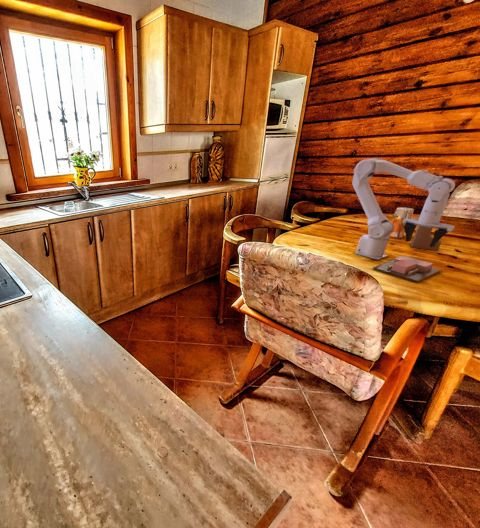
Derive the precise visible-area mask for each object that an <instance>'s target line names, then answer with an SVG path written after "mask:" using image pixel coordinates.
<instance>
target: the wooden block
mask: <svg viewBox="0 0 480 528" xmlns="http://www.w3.org/2000/svg"><path fill="white" fill-rule="evenodd" d="M432 230H433V228H430V227H424V226H419V225H417V226H416V229H415V232H414V235H413V238H412V239H411V244H410V246H411V248H414V249H421V250H428V251H435V252H436V251H439V249H440V247H441V244H442V240H441V239H440V240H439V241H438V242H437V243H436V245H435V246H434V247H430V244H431V242H432V240H433V237H434V236H432V234H431V233H432Z"/></svg>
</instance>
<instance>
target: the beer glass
mask: <svg viewBox="0 0 480 528" xmlns="http://www.w3.org/2000/svg"><path fill="white" fill-rule="evenodd" d="M414 211H415V209H414V208H411V207H404V206H403V207H402V206H401V207H396V208H395V211H394V213H393V216H392V221H391V223H392V224H393V225H394V230H393V231H392V232H391V233H390V234H389V237H390V238H394V239H403V238H404V234H405V229H404V225H405V223H403V220H404V219H405V218H410V219H413V215H414Z"/></svg>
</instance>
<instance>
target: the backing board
mask: <svg viewBox="0 0 480 528" xmlns="http://www.w3.org/2000/svg"><path fill="white" fill-rule="evenodd" d="M402 260H406V261H410V262H414V263H417V266H416V268H415V269H414V270H412V271H409V272H408V273H406V274H403V273H400V272H396V271H393V270H391V268H392V266H393V263H395V262H399V261H402ZM433 266H434V263H433V262H429V261H425V260H421V259H417V258H414V257H410V256H407V255H400V256H397V257H395V258H394V259H392V260H389V261H387V262H384V263H381V264H379V265H377V266H374V267H373V271H377V272H379V273H383V274H386V275H390V276H393V277H396V278H399V279H403V280H406V281H409V282H413V283H415V284H417V283H420V282H422V281H424V280H427V279H428V278H430V277H432V276H434V275H437V274H439V273H440V272H441V269H439V268H435V267H433Z"/></svg>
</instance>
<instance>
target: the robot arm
mask: <svg viewBox="0 0 480 528" xmlns="http://www.w3.org/2000/svg"><path fill="white" fill-rule="evenodd" d="M376 173H387V174H390V175H393V176H396V177H398V178H402V179H406V182H407V184H408V185H410V186H414V187H416V188H417V189H421V190H423V191H428V196H427V197H426V199H425V202H424V205H423V208H422V210H421V212H420V215H419V218H418V219H417V218H411V219H410V218H405V219H404V220H403V223H405V225H404V229H405V231H404V234H405V242H407V243H409V242H411V241H412V239H413V238H412V237H413V236H414V235H413V234H414V233H415V231H416V229H417V227H418V225H419V226H424V227H430V228H432V229H435V230H434V232H433V236H432V237H433V240H432V242H431V244H430V247H434V246H435V245H436V243H437V242H438V241H439V240H441V239H442V238H443V237H444V236H445V235H447V234H448V233H449V232H453V231H454V229H455V225H451V224H447V223H444V222H440V220H441V218H442V216H443V213H444V211H445V208H446V206H447V203H448V201H449V198H450V195H451V193H450V192H453V190H454V189H455V187H456V183H455V181H454V180H452V179H451V178H449V177H444V176H443V175H435V174H433V173H430V172H429V170H428V169H423V170H422V169H418V170H415V171H413V170H411V169H409V168H406V167H403V166H401V165H399V164H396V163H394V162H391V161H389V160H386V159H380V158H379V157H372V158H366V159H362V160H360V161H359V162H358V163H357V164H356V166H355V167H354V168H353V176H352V180H351V181H352V182H351V185H352V186H353V190H354V191H355V194H356V196H357V198H358V200H359V203H360V205H361V207H362V209H363V211H364V213H365V215H366V218H367V223H366V224H367V228H368V229H367V233H368V234H362V235H361V236H360V238H359V240H358V243H357V247H356V249H355V250H356V251H355V252H354V254H355V255H358V256H359V255H360V256H363V257H366V258H370V259H374V260H377V261H379V260H381V259H384V258H387V257H388V255H387V254H385V252H386V249H387V246H388V244H389V240H390V238H391V237H389V234H390V233H391V232H392V231H393V230H394V225H393V224H392V221H390V220H389V219H388V217H387V216H386V215H385V214H384V213H383V211H382V209H381V207H380V205H379V203H378V200H377V199H376V196H375V194H374V192H373V190H372V188H371V185H370V183H369V182H370V180H371V179H372V177H373V175H375V174H376Z"/></svg>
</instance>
